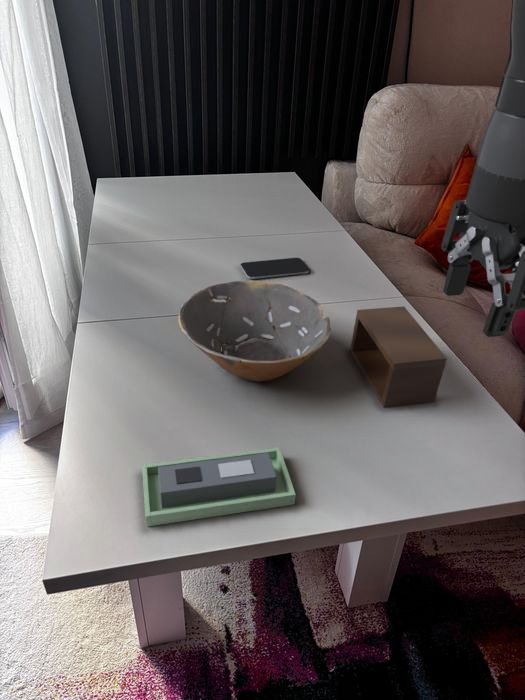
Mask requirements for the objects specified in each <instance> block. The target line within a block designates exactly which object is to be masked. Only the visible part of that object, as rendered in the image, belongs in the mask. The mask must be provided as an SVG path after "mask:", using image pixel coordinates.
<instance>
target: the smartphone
mask: <svg viewBox="0 0 525 700" xmlns="http://www.w3.org/2000/svg"><path fill="white" fill-rule="evenodd" d="M240 269H241V270H242V272H243V273H244V275H245V277H246V278H247V279H250V280H257V279H258V280H259V279H267V278H275V277H284V276H285V277H287V276H295V275H296V276H297V275H305V274H309V273H310V270H311V269H310V267H308V265H306V263H305V262H304V260H303V259H302V258H300V257H288V258H278V259H277V258H276V259H267V260H255V261H244V262H241V263H240Z"/></svg>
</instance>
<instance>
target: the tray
mask: <svg viewBox="0 0 525 700" xmlns="http://www.w3.org/2000/svg"><path fill="white" fill-rule="evenodd" d="M263 453H269V454H270V457H271V461H272V464H273V467H274V470H275V473H276V476H277V478H276V488H275V492H270V493H263V494H256V495H249V496H242V497H236V498H229V499H222V500H215V501H208V502H201V503H194V504H187V505H180V506H173V507H167V508H162V505H161V495H160V485H159V473H158V467H163V466H170V465H178V464H186V463H194V462H201V461H209V460H217V459H224V458H232V457H240V456H248V455H255V454H263ZM141 468H142V470H141V471H142V482H143V485H142V486H143V498H144V499H143V500H144V501H143V502H144V515H145V525H146V527H153V526H159V525H161V526H162V525H165V524H166V525H167V524H172V523H179V522H181V523H182V522H186V521H187V522H188V521H195V520H200V519H207V518H213V517H214V518H215V517H219V516H227V515H232V514H233V515H234V514H239V513H240V514H241V513H247V512H253V511H260V510H268V509H274V508H280V507H286V506H294V505H295V503H296V496H297V495H296V491H295V488H294V485H293V482H292V480H291V477H290V473H289V471H288V468H287V464H286V461H285V460H284V456H283V453H282V450H281V447H272V448H265V449H258V450H257V449H256V450H250V451H242V452H241V451H240V452H233V453H226V454H224V453H223V454H217V455H210V456H200V457H195V458H186V459H178V460H170V461H161V462H153V463H147V464H141Z"/></svg>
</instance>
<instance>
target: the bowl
mask: <svg viewBox="0 0 525 700" xmlns="http://www.w3.org/2000/svg"><path fill="white" fill-rule="evenodd" d="M215 300H217V301H215ZM323 315H324V312H323V306H322V305H321V304H320V303H319V302H318V301H317V300H315V299H314V298H312V296H311V297H310V296H309V295H308V294H306V293H304V292H303V291H301V290H299V289H296V288H294V287H290V286H287V285H284V284H282V283H278V282H272V281H263V280H262V281H261V280H259V281H258V280H238V281H237V280H235V281H229V282H224V283H223V282H222V283H218V284H214V285H211V286H207V287H205V288H203V289H200V290H199V291H197V292H195V293H193V295H191V296H190V297H189V298H188V299H186V301H185V302H183V304H182V305H181V307H180V309H179V312H178V326H179V328H180V331H181V332H182V334H184V336H185V337H186V338H187V340H189V341H190V342H191V343H192V344H193V345H194V346H195V347H196V348H198V350H199V351H201V352H203V354H205V355H206V356H207V357H208V358H210V359H211V360H212V361H213V362H214V363H216V364H217V365H218V366H219V367H221V368H222V369H224V370H225V371H227V372H228V373H229V374H232V375H233V376H236V377H239V378H240V379H243V380H246V381H251V382H267V381H272V380H274V379H276V378H279V377H282V376H284V375H286V374H288V373H290V372H291V371H293V370H294V369H296V368H297V367H299V366H300V365H302V363H304V362H306V361H307V360H308V359H310V358H311V357H313V356H314V355H315V354H316V353H317V352H318V351H319V350H320V349H321V348H322V347H323V346H324V345H325V344H326V342H327V341H328V339H329V338H330V335H331V331H332V329H331V320H330V317H329V316H327V315H325V316H323ZM251 339H264V340H262V341H254V342H248V341H249V340H251ZM244 342H245V343H244ZM237 346H238V348H237V349H236V347H237Z"/></svg>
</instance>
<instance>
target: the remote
mask: <svg viewBox="0 0 525 700" xmlns="http://www.w3.org/2000/svg"><path fill="white" fill-rule="evenodd" d="M158 473H159V485H160V495H161V505H162V508H167V507H173V506H180V505H187V504H194V503H201V502H208V501H215V500H222V499H229V498H236V497H242V496H249V495H256V494H263V493H270V492H275V488H276V478H277V476H276V473H275V470H274V467H273V464H272V461H271V457H270V454H269V453H263V454H255V455H248V456H240V457H232V458H224V459H217V460H209V461H201V462H194V463H186V464H178V465H170V466H163V467H158Z"/></svg>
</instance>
